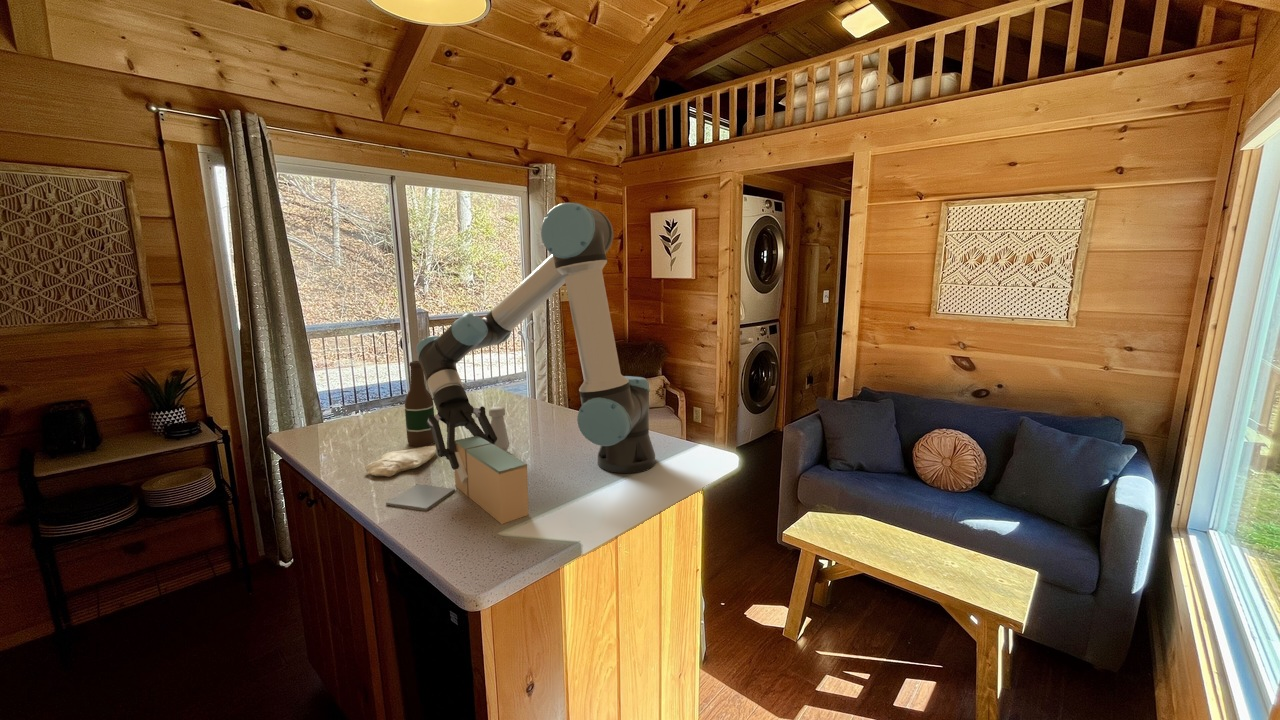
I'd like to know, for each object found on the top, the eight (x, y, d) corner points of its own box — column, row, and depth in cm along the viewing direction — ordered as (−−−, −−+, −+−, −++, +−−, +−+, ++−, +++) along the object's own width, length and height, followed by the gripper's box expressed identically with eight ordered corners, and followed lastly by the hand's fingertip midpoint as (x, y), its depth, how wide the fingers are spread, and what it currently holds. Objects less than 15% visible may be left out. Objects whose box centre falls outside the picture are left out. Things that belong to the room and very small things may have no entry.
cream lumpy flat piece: (354, 474, 126) (421, 450, 144) (391, 484, 121) (455, 458, 138) (353, 459, 126) (420, 437, 144) (390, 469, 120) (455, 445, 138)
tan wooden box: (468, 496, 114) (465, 449, 112) (494, 489, 118) (491, 443, 116) (501, 524, 102) (499, 471, 100) (528, 514, 105) (527, 463, 104)
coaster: (455, 491, 117) (454, 488, 116) (426, 510, 107) (426, 508, 107) (417, 486, 119) (416, 484, 119) (386, 505, 109) (385, 502, 109)
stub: (455, 486, 119) (452, 440, 117) (480, 479, 123) (477, 435, 121) (467, 496, 114) (464, 448, 112) (492, 488, 118) (490, 443, 116)
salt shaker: (503, 457, 138) (501, 410, 136) (484, 455, 139) (481, 409, 137) (513, 450, 143) (511, 405, 141) (494, 448, 145) (492, 404, 142)
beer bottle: (441, 441, 150) (436, 361, 146) (418, 448, 144) (412, 365, 140) (425, 436, 155) (419, 358, 150) (401, 443, 148) (395, 362, 144)
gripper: (481, 395, 133) (513, 473, 124) (404, 407, 121) (433, 495, 112) (489, 378, 128) (523, 458, 119) (409, 389, 116) (440, 479, 107)
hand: (479, 476), depth 115 cm, fingers closed on tan wooden box, 6 cm apart
